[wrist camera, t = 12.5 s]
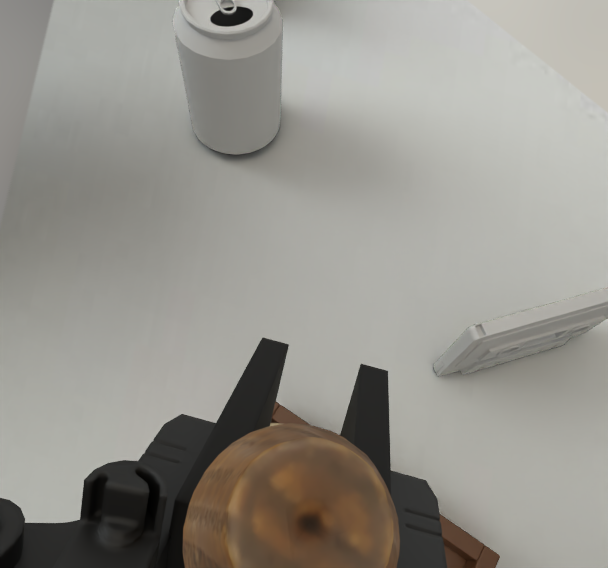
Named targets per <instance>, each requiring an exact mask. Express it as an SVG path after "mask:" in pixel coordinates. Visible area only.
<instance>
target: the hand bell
mask: <svg viewBox="0 0 608 568" xmlns="http://www.w3.org/2000/svg"><path fill="white" fill-rule="evenodd" d="M399 550H400V535H399V524H398V517H397V513H396V510H395V506H394V503H393V501H392V498H391V496H390V493H389V491H388V488H387V486H386V484H385V482H384V480H383V478H382V477H381V475H380V473H379V472H378V470H377V468H376V467H375V465H374V464H373V463H372V461H371V460H370V459H369V457H368V456H367V455H366V454H365V453H364V452H362V451H361V450H360V449H358V448H357V447H356V446H354V445H353V444H352V443H350V442H349V441H348V440H347V439H345V438H344V437H342V436H340V435H338V434H336V433H334V432H331V431H329V430H325V429H322V428H319V427H315V426H311V425H306V424H293V423H288V424H280V423H270V426H268V427H265V428H262V429H259V430H256V431H253V432H250V433H249V434H247V435H245V436H243V437H242V438H240V439H238V440H237V441H235V442H233V443H232V444H231V445H229V446H228V447H227V448H226V449H225V450H224V451H222V452H221V453H220V454H219V455H218V456H217V457H216V459H215V460H214V461H213V462H212V464H211V465H210V466H209V467H208V468H207V470H206V471H205V472H204V474H203V476H202V478H201V480H200V481H199V483H198V485H197V487H196V489H195V490H194V492H193V495H192V498H191V500H190V503H189V507H188V511H187V515H186V519H185V523H184V527H183V559H184V565H185V568H397V563H398V558H399Z"/></svg>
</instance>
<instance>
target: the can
mask: <svg viewBox="0 0 608 568" xmlns="http://www.w3.org/2000/svg"><path fill="white" fill-rule="evenodd" d="M178 2H179V6H178V7H177V8H176V10H175V13H174V17H173V20H172V21H173V27H174V32H175V37H176V42H177V48H178V53H179V58H180V63H181V69H182V74H183V79H184V85H185V90H186V95H187V100H188V106H189V111H190V116H191V121H192V127H193V131H194V133H195V134H196V136H197V137H198V139H199V140H200V141H201V142H202V143H204V144H205V145H206V146H208V147H209V148H211V149H213V150H216V151H219V152H221V153H227V154H237V155H238V154H244V153H251V152H254V151H256V150H258V149H261V148H263V147H265V146H266V145H267V144H268V143H269V142H271V141H272V140H273V139H274V137H275V136H276V134H277V132H278V130H279V127H280V119H281V79H282V37H283V19H282V16H281V13H280V10H279V8H278V7H277V6H276V5H275V4H274V0H179V1H178Z"/></svg>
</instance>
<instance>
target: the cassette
mask: <svg viewBox="0 0 608 568" xmlns="http://www.w3.org/2000/svg"><path fill="white" fill-rule="evenodd" d="M607 318H608V287H607V288H603V289H600V290H596V291H593V292H589V293H586V294H582V295H578V296H575V297H571V298H568V299H564V300H561V301H557V302H554V303H550V304H546V305H543V306H539V307H536V308H532V309H529V310H525V311H521V312H518V313H514V314H511V315H507V316H504V317H500V318H497V319H493V320H489V321H486V322H482V323H479V324H474V325H472V326H470V327H468V328H467V329H466V330H465V331H464V332H463V333H462V335H461V336H460V337H459V338H458V339H457V340H456V341H455V342H454V343H453V344H452V345H451V346H450V347H449V348H448V350H447V351H446V352H445V353H444V354H443V355H442V356H441V357H440V358H439V359H438V360H437V361H436V362H435V363H434V365H433V366H434V370H435V373H437V375H438V377H439V376H443V375H446V374H450V373H453V372H457V371H460V372H461V373H462V374H463V375H465V374H468V373H471V372H475V371H478V370H481V369H485V368H488V367H492V366H495V365H498V364H502V363H505V362H508V361H512V360H515V359H518V358H522V357H525V356H528V355H532V354H535V353H538V352H542V351H545V350H549V349H552V348H555V347H559V346H562V345H565V343H566V342H567V341H568V340H569V339H570V338H571V337H575V336H578V335H581V334H584V333H586V332H587V331H589V330H590V329H592V328H593V327H595V326H596V325H598V324H599V323H601V322H602V321H604V320H605V319H607Z"/></svg>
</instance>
